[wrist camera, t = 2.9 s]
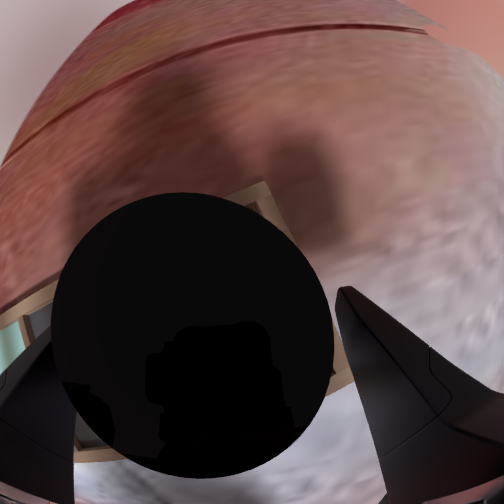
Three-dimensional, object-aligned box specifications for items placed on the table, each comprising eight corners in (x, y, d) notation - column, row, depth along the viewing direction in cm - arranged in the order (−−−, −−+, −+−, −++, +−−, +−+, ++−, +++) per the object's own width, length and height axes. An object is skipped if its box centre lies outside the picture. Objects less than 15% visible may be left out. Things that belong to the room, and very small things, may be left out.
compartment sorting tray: (263, 187, 17) (264, 180, 16) (351, 375, 15) (357, 379, 14) (-24, 336, 14) (-30, 336, 13) (24, 457, 12) (19, 460, 11)
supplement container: (304, 306, 15) (392, 304, 5) (238, 397, 14) (218, 515, 4) (210, 242, 16) (150, 145, 6) (147, 331, 15) (21, 353, 5)
